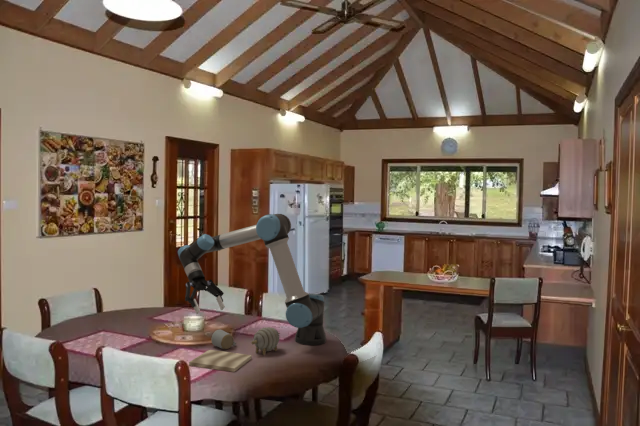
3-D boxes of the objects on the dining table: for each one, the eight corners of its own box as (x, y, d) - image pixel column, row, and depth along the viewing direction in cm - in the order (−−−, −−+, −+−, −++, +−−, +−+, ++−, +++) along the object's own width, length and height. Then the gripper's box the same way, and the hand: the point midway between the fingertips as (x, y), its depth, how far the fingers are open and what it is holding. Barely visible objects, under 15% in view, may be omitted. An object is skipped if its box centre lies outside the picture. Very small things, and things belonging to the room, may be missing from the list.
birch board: (251, 358, 232) (251, 355, 232) (234, 372, 215) (234, 368, 215) (209, 353, 237) (209, 349, 237) (189, 365, 220) (189, 361, 220)
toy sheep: (286, 350, 246) (287, 326, 246) (262, 359, 232) (263, 333, 231) (267, 345, 252) (268, 322, 251) (243, 354, 238) (244, 329, 237)
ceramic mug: (221, 351, 240) (222, 334, 240) (210, 347, 246) (211, 330, 246) (240, 347, 248) (241, 330, 248) (229, 343, 254) (229, 327, 253)
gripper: (213, 276, 274) (229, 311, 264) (168, 280, 256) (184, 318, 247) (219, 267, 270) (236, 302, 260) (174, 271, 252) (190, 309, 243)
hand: (210, 310), depth 253 cm, fingers open, 13 cm apart
